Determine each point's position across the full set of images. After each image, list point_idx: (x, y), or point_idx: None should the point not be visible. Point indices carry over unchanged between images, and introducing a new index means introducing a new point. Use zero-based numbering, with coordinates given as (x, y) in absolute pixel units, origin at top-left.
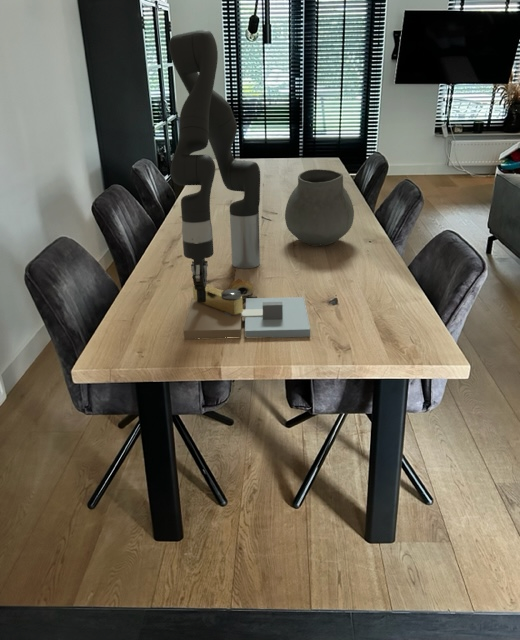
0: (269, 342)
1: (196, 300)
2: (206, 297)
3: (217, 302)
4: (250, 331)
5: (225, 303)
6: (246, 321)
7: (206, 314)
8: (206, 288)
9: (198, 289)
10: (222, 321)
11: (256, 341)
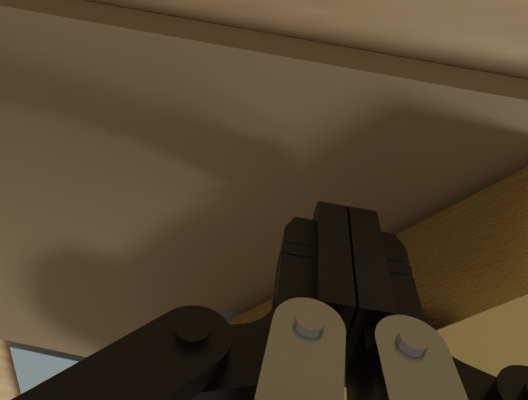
0: (6, 378)
1: (523, 172)
2: None
3: None
4: (16, 362)
5: None
6: None
7: (224, 206)
8: (474, 360)
9: (252, 329)
10: (98, 280)
11: (8, 344)
